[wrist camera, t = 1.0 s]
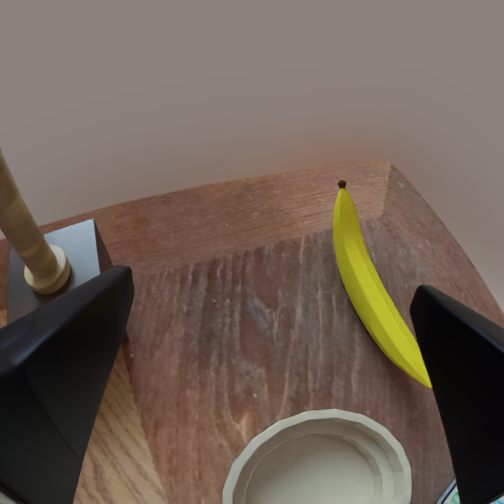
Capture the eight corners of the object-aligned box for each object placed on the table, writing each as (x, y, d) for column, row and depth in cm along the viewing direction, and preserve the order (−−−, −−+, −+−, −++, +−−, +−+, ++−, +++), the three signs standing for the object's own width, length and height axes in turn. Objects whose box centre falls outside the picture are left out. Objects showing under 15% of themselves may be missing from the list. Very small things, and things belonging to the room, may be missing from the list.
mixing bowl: (326, 581, 12) (344, 598, 9) (187, 510, 16) (180, 521, 13) (410, 459, 19) (438, 455, 16) (287, 387, 22) (299, 374, 19)
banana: (386, 410, 21) (430, 391, 16) (311, 227, 32) (326, 180, 27) (413, 397, 22) (459, 375, 17) (336, 223, 33) (354, 178, 28)
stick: (44, 304, 18) (-68, 133, 7) (22, 275, 19) (-70, 117, 8) (79, 270, 20) (-2, 86, 9) (55, 244, 21) (-16, 78, 10)
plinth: (129, 340, 23) (106, 306, 19) (45, 363, 21) (7, 335, 16) (112, 262, 28) (93, 218, 23) (38, 284, 25) (9, 246, 20)
